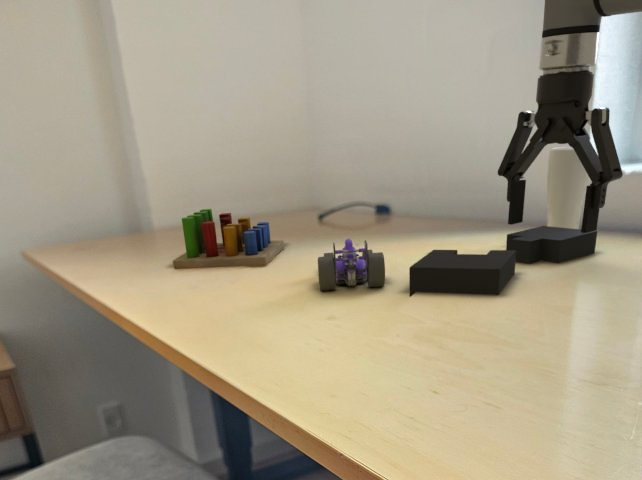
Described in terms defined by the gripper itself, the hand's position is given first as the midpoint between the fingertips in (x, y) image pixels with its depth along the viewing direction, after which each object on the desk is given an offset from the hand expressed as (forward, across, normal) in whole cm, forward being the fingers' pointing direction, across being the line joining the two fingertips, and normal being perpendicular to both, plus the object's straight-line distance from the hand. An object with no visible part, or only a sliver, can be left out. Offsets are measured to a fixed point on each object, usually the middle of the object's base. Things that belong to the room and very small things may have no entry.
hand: (550, 227), depth 103 cm
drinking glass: (+5, -8, +15) cm, 18 cm away
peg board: (+6, -47, -32) cm, 57 cm away
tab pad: (+5, 0, -1) cm, 5 cm away
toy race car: (+5, -14, -29) cm, 33 cm away
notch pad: (+5, +3, -22) cm, 22 cm away
